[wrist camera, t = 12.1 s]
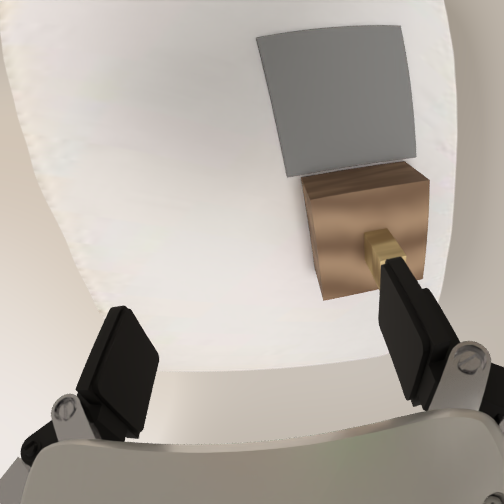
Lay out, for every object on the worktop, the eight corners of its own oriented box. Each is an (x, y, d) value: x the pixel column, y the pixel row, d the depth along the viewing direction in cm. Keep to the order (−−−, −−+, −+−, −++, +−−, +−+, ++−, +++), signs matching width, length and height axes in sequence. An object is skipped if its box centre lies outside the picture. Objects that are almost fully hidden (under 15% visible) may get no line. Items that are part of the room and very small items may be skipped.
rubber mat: (256, 38, 30) (256, 37, 30) (398, 26, 28) (400, 25, 28) (287, 176, 40) (287, 177, 39) (414, 156, 37) (416, 157, 37)
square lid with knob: (300, 177, 40) (320, 225, 28) (404, 161, 38) (455, 201, 27) (314, 268, 47) (331, 333, 36) (403, 250, 46) (440, 307, 34)
